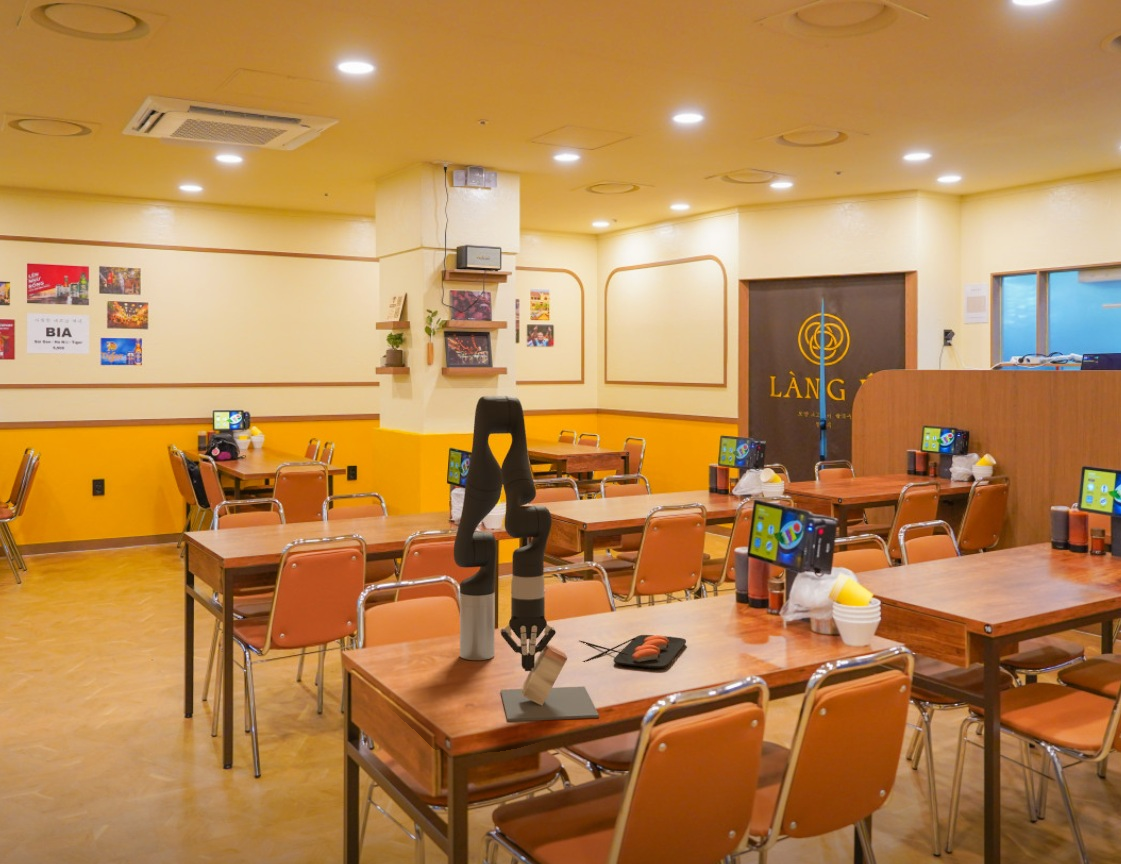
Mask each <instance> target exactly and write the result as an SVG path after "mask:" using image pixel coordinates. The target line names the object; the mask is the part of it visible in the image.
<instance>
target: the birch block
mask: <svg viewBox="0 0 1121 864" xmlns="http://www.w3.org/2000/svg"><path fill="white" fill-rule="evenodd" d="M567 661H568V657H567V655H566V652H565V651H563V650H561V649H559V648H557V647H555V646H553V645H551V644H549V643H548V644H547V645H546V647H545V648H544V649H543V650H542V651H541V652H539V654H538V656H537V658H536V659H535V666H534V668H532V671H529V673H528V674H527V677H526V678H525V680H524V682H523V684H522V686H521V687H520V689H521V692H522V695H523V696H524V697H526V698H528V699H530V700H532V701H534V702H536V703H538V704H540V705H543V704H544V702H545V700H546V698H547V696H548V694H549V692H550V690H551V689H552V688H554V687H553V686H554V685H555V683H556V681H557V679H558V677H559V675H560V674H561V672H562V670H563V667H564V666H565V664H566V662H567Z"/></svg>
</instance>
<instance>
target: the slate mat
mask: <svg viewBox="0 0 1121 864" xmlns="http://www.w3.org/2000/svg"><path fill="white" fill-rule="evenodd" d="M500 695H501V700H502V703H503V708H504V713H505V716H506V717H505V718H506V721H507V722H527V721H531V722H532V721H547V720H548V721H550V720H575V719H595V718H596V719H597V718H600V715H599V712H598V711H597V708H596V707H595V704H594V703H593V701H592V699H591V697H590V695H589V692H588V690H587V689H586V687H585V686H566V687H565V686H560V687H559V686H558V687H552V689H551V690H550V692H549V694H548V696H547V698H546V700H545V702H544V704H543V705H540V704H538V703H536V702H534V701H532V700H530V699H528V698H526V697H524V696H523V695H522V692H521V688H513V689H512V688H511V689H509V688H508V689H500Z"/></svg>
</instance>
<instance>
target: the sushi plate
mask: <svg viewBox="0 0 1121 864" xmlns="http://www.w3.org/2000/svg"><path fill="white" fill-rule="evenodd" d="M580 641H581V642H580V643H582V642H583V643H582V644H584V643H586V644H588V645H587V646H589V647H594V648H598V649H602V650H605V651H602V652H600V653H598V654H595V655H593V656H591V657H589V658H587V659H585V660H583V661H582V662H584V663H586V662H589V661H591V659H592V660H595V659H597V658H599V657H601V656H603V655H605V654H607V653H609V652H614V653H618V654H617V655H616V656H614V658H613V663H614V664H618V665H623V666H632V667H638V666H639V668H659V669H660V668H665V667H667V666H669V665H670V663H672V661H673V660H674V658H676V656H677V655H678V653H679V652H680V651H681V650H682V649H683V647H684V646H685V645H686V642H687V640H686V639H685V638H683V637H677V636H675V637H674V636H666V635H657V634H656V635H653V634H640V635H639V634H638V635H637V636H635V637H633V638H631V639H629V640H626V641H624V642H622V643H620V644H618V645H616V646H614V647H611V648H608V647H605V646H601V645H597V644H594V643H591V642H586V641H584V640H583V641H582V640H580ZM586 644H585V645H586ZM626 644H627V645H626ZM624 645H625V647H624V648H623V649H621V651H619V650H615V649H617V648H619V647H621V646H624ZM596 657H597V658H596ZM594 658H595V659H594ZM585 661H586V662H585Z"/></svg>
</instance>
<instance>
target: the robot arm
mask: <svg viewBox="0 0 1121 864" xmlns="http://www.w3.org/2000/svg"><path fill="white" fill-rule="evenodd" d="M495 434H497V435H499V434H501V435H502V434H503V435H504V434H510V435H511V444H510V447H509V449H508V451H507V453H506V455H505V456H504V459H503V461H502V463H501V465H500V464H499V461H498V460H497V458H496V456H495V455H494V454H493V451H492V449H491V447H490V445H489V438H490V435H495ZM472 435H473V437H472V446H471V455H470V460H469V466H468V469H467V470H468V471H467V475H466V481H465V485H464V486H465V488H464V497H463V502H462V503H463V504H462V510H461V515H460V520H459V524H458V527H457V531H456V535H455V539H454V544H453V558H454V562H455V564H456V565H457V566H458V567H459V568H467V569H469V568H479V570H478V571H477V572H476V573H474V574H473V575H471V576H469V577H467V578H465V579H463V580H462V581H461V582H460V584H459V657H460V658H462V659H464V660H469V661H486V660H489V659H492V658H494V657H495V652H496V651H495V647H496V646H495V644H496V642H495V640H496V638H495V635H496V633H495V630H496V629H495V628H496V626H495V625H496V624H495V622H496V621H495V620H496V619H495V618H496V617H495V615H496V614H495V613H496V612H495V610H496V608H495V603H496V602H495V601H496V600H495V599H496V598H495V595H496V594H495V593H496V592H495V591H496V589H495V588H496V587H495V586H496V568H497V566H496V564H497V541H496V537H495V534H494V533H493V532H491V531H476V529H477V528H478V526H479V524H480V523H481V522H482V521H483V520H484V519H485V518H486V517H487V516H488V515H489V514H490V513H492V510H493V509H494V508H495V507H496V506H497V504H498V503H499V501H500V499H501V497H502V496H501V495H502V490H503V489H504V490H503V491H504V494H505V514H504V529H505V532H506V533H507V534H508V536H510V537H511V538H513V539H524V538H525V539H526V538H527V539H528V538H532V539H531V541H530V542H529V544H527V545H525V546H522V547H519V548H516V549H514V551H513V552H512V558H511V559H512V561H511V562H512V576H511V577H512V578H511V589H510V590H511V591H510V595H511V597H510V598H511V601H510V603H511V604H510V606H511V607H510V609H511V617H510V619H509V623H508V625H507V626H506V627H504V628H502V629H500V635H501V637H502V639H504V640H505V642H506V643H507V645H509V646H510V648H511V649H512V650H513V652H514V653H516V654H521V667H522V669H523V670H524V672H530V671H532V668H534V666H535V661H536V659H535V655H536V654H537V653H540V652H541V651H542V650H543V649H544V648H545V647H546V645H547V644H549V643H550V641H552V639H553V638H554V636H555V635H556V633H557V631H556V629H555V628H554V627H552V626H550V625H549V624H548V622H547V620H546V619H547V618H546V616H545V615H546V614H545V613H546V611H545V608H546V605H545V604H546V602H545V600H546V599H545V598H546V597H545V595H546V587H545V578H544V577H545V576H544V571H545V570H544V565H545V564H544V558H545V551H546V547H547V543H548V540H549V536H550V533H551V529H552V524H553V523H552V522H553V521H552V520H553V517H552V515H551V512H550V510H549V509H548V508H547V507H546V506H544V505H528V504H530V503H532V502H533V501H534V500H535V498H536V496H537V491H536V485H535V483H534V482H535V481H534V478H533V474H532V470H531V466H530V463H529V462H530V461H529V460H530V459H529V453H528V442H527V433H526V424H525V416H524V410H523V406H522V403H521V400H520V399H519V398H518V397H517V396H514V395H483V396H481V397H480V398H479V399H478V401H477V403H476V407H475V411H474V423H473V434H472ZM525 505H526V506H525ZM512 631H513V633H514V635H515V636H516V638H518V639H519V642H520V645H519V644H517V642H516V641H515V639H514V638H512ZM542 633H543V634H544V635H543V636H542V638H541V639H540V640H539V642H538V643H537V639H538V638H539V637H540V636H541V634H542ZM527 640H528V643H527ZM536 643H537V644H536Z"/></svg>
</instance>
